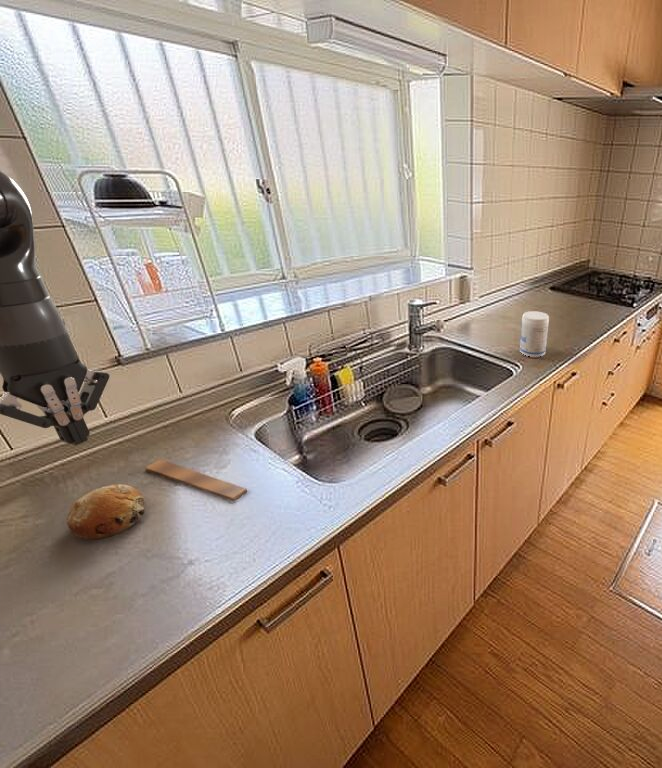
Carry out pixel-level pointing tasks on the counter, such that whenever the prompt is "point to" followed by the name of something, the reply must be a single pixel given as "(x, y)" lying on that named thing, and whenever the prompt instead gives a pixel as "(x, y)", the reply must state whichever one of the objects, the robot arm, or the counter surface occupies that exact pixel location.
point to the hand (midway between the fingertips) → (77, 441)
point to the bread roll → (106, 511)
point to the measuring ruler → (196, 479)
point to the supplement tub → (534, 334)
